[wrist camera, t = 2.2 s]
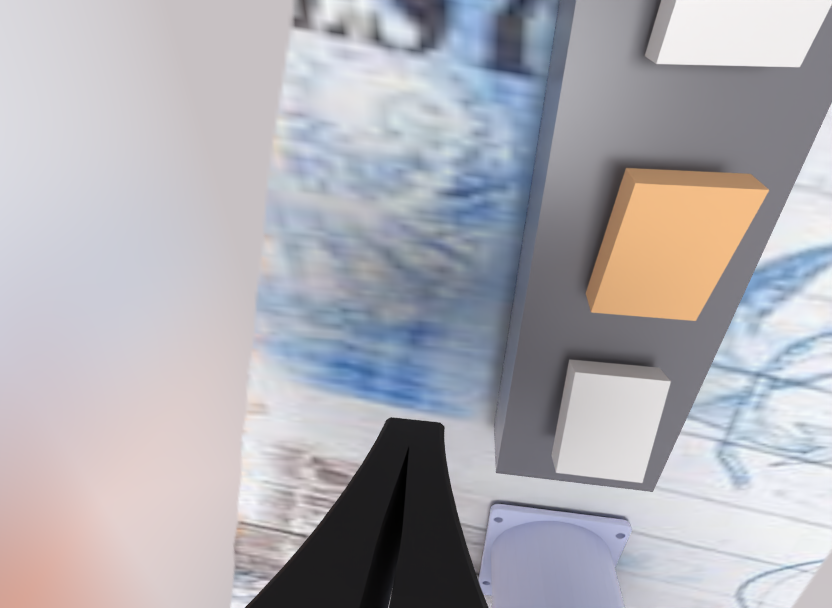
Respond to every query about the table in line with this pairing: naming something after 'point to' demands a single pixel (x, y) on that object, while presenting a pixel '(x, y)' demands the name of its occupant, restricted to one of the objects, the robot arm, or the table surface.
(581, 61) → the power strip
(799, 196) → the table surface
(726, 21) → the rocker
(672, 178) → the peach rectangular tile
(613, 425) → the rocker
